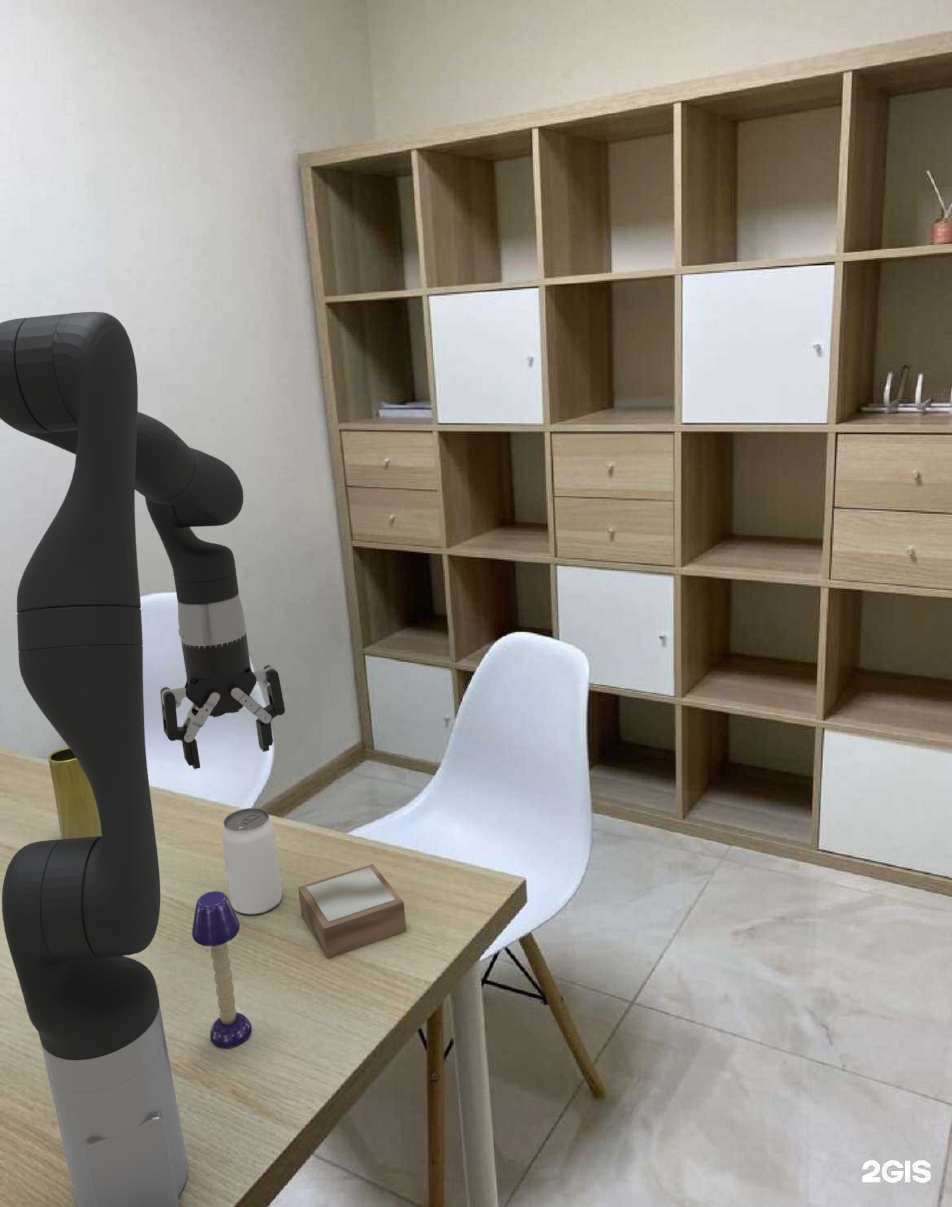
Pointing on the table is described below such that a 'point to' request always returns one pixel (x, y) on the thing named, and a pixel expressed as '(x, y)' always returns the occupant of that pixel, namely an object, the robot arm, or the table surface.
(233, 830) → the can
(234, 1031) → the toy lamp
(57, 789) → the vase
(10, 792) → the table surface
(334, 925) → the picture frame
